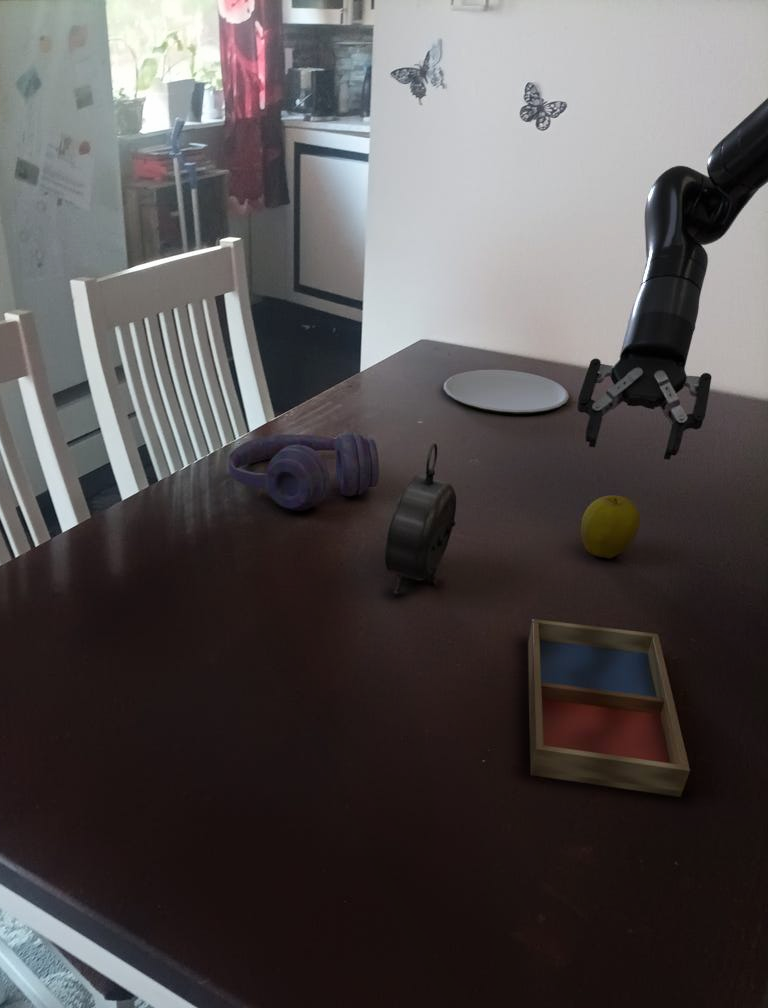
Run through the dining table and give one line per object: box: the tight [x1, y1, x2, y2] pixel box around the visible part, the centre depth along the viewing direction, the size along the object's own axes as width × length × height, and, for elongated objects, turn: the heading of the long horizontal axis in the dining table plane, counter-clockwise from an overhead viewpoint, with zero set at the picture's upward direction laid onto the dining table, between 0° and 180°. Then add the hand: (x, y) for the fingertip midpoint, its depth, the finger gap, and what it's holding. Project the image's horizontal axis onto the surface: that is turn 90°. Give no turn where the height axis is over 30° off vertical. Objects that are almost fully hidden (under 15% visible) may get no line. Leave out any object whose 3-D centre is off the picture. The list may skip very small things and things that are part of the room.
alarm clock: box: [384, 442, 457, 597], centre depth 97 cm, size 11×5×16 cm, turn 154°
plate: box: [443, 369, 570, 415], centre depth 152 cm, size 21×21×1 cm
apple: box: [580, 494, 641, 559], centre depth 105 cm, size 6×6×8 cm
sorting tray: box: [527, 618, 691, 798], centre depth 82 cm, size 12×20×3 cm, turn 168°
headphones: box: [227, 432, 380, 512], centre depth 120 cm, size 18×8×20 cm
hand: (629, 450), depth 106 cm, fingers open, 8 cm apart
